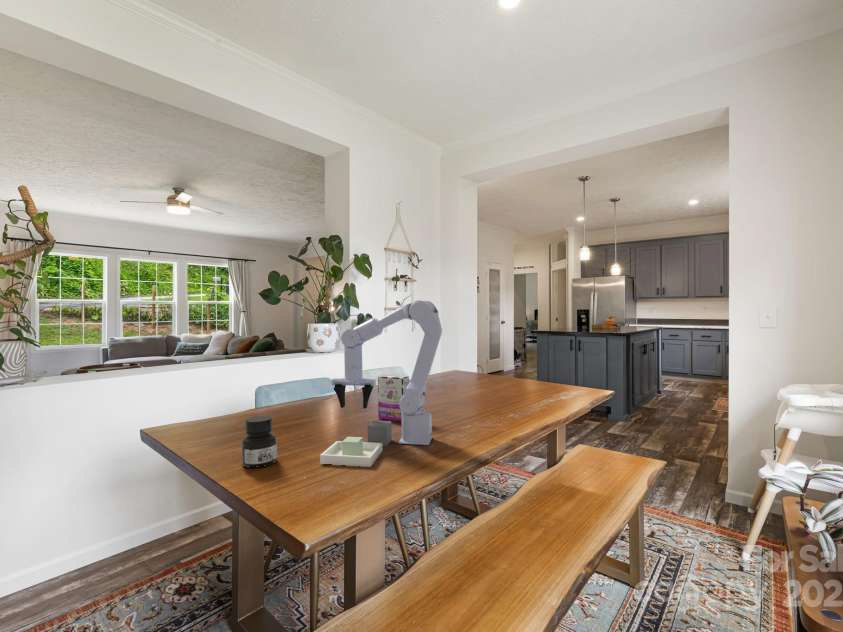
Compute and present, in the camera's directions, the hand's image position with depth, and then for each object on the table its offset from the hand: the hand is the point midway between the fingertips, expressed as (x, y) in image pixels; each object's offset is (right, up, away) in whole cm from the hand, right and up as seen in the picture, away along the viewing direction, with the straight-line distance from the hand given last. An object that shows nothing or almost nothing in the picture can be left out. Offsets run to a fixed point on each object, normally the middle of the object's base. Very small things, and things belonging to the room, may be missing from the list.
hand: (354, 407), depth 135 cm
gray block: (+9, -10, -7) cm, 15 cm away
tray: (+3, -10, -20) cm, 22 cm away
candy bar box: (+12, -9, +20) cm, 25 cm away
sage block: (+3, -9, -20) cm, 22 cm away
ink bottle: (-22, -10, -23) cm, 33 cm away
